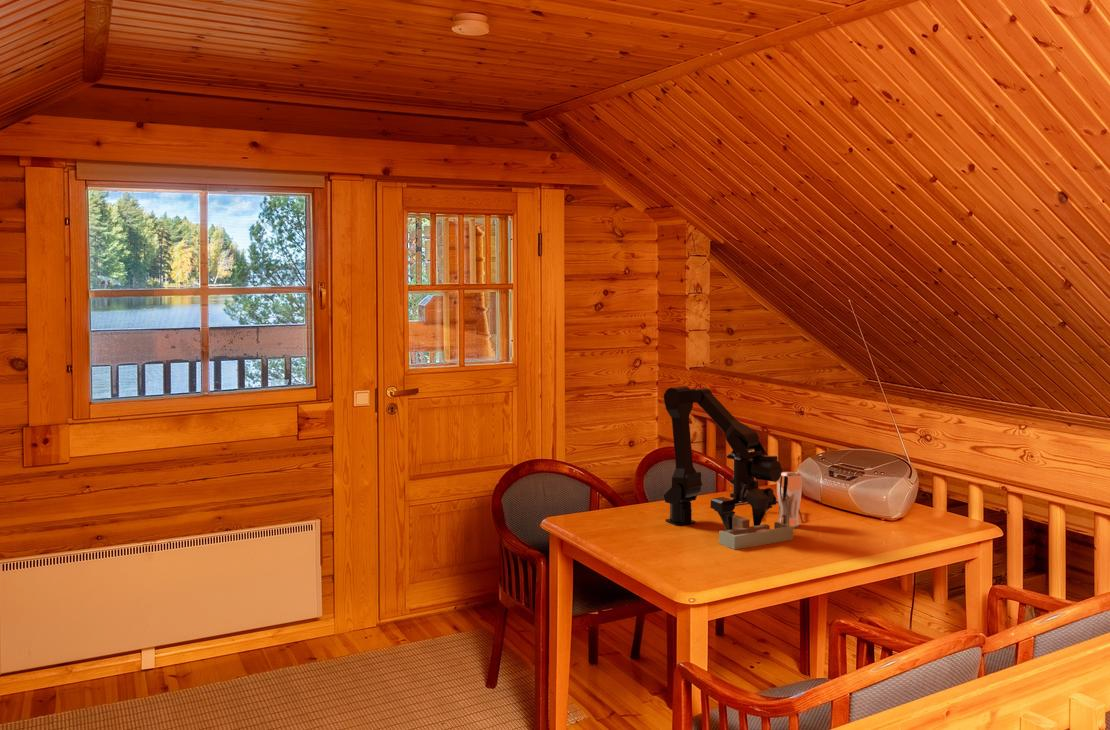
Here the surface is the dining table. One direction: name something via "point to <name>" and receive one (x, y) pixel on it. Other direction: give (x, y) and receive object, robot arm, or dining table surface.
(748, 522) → the scraper
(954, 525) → the dining table surface
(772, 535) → the box
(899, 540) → the dining table surface
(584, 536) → the dining table surface
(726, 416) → the robot arm
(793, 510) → the beer glass
